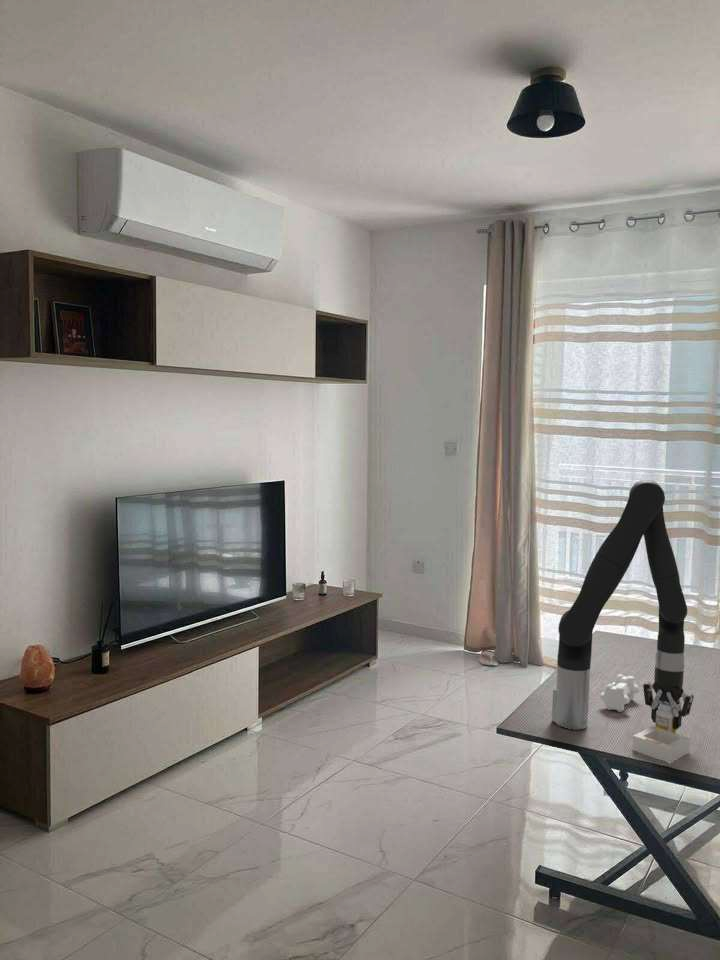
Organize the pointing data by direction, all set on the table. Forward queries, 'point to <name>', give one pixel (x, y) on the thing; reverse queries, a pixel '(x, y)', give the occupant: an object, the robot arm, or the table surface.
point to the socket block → (661, 744)
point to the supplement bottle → (665, 717)
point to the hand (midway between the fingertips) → (665, 725)
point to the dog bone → (619, 693)
